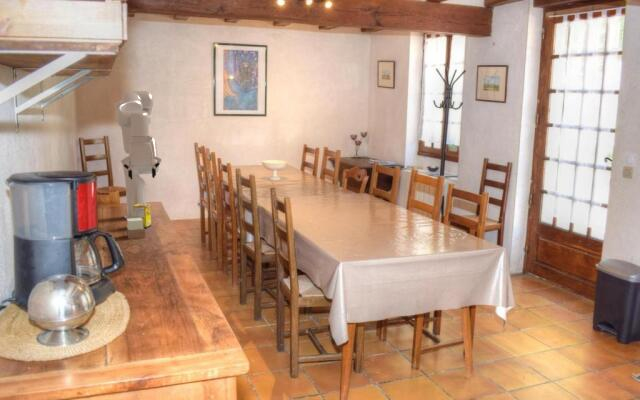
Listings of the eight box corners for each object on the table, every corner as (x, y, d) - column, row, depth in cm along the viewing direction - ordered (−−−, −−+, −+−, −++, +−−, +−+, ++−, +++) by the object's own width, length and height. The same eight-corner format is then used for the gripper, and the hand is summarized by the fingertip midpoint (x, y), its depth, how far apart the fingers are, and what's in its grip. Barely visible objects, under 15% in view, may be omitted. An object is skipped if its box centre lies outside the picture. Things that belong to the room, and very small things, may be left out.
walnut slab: (127, 236, 258) (126, 227, 258) (143, 234, 261) (142, 225, 260) (128, 239, 252) (128, 230, 251) (145, 238, 255) (144, 229, 254)
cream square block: (127, 227, 257) (126, 218, 256) (141, 226, 260) (140, 217, 259) (128, 230, 252) (128, 221, 251) (143, 229, 254) (142, 220, 253)
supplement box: (151, 225, 277) (150, 203, 275) (146, 228, 272) (145, 205, 270) (139, 225, 278) (138, 203, 276) (134, 228, 272) (132, 205, 270)
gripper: (159, 138, 265) (160, 175, 268) (119, 140, 258) (121, 178, 262) (161, 140, 258) (163, 178, 262) (120, 141, 252) (123, 180, 255)
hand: (142, 178), depth 262 cm, fingers open, 9 cm apart
